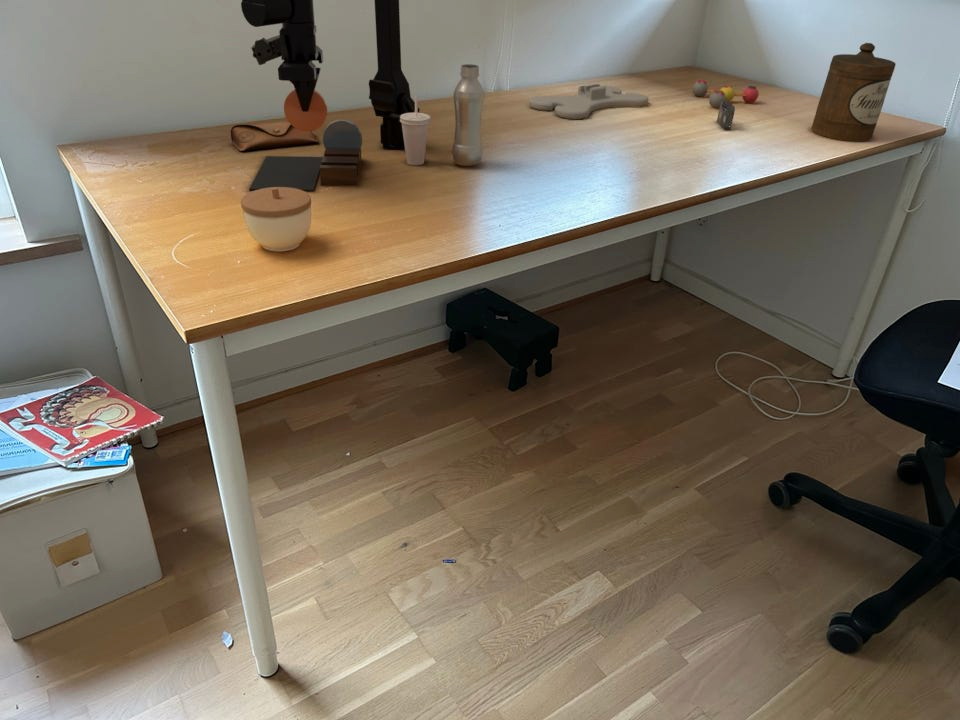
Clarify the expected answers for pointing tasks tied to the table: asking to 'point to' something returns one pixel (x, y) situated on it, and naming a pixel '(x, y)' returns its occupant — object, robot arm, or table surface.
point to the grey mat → (288, 173)
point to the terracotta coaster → (305, 119)
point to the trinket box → (277, 217)
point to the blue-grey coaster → (342, 135)
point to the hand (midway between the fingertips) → (305, 110)
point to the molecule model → (724, 93)
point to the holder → (587, 101)
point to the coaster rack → (340, 166)
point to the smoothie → (415, 135)
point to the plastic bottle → (468, 117)
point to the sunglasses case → (269, 136)
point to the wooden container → (853, 95)
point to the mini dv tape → (725, 114)
